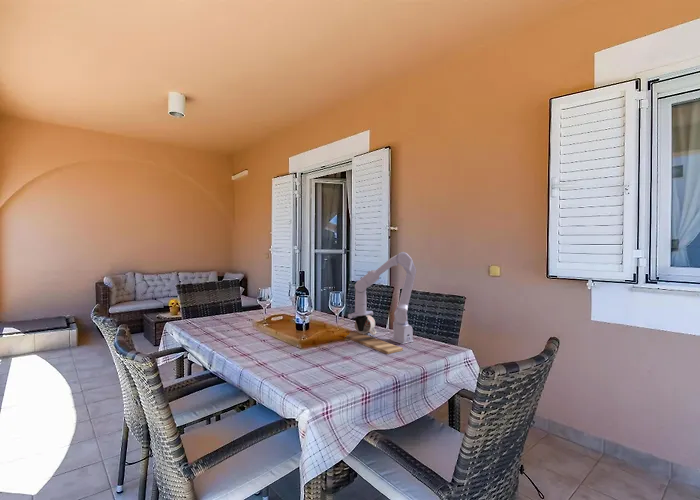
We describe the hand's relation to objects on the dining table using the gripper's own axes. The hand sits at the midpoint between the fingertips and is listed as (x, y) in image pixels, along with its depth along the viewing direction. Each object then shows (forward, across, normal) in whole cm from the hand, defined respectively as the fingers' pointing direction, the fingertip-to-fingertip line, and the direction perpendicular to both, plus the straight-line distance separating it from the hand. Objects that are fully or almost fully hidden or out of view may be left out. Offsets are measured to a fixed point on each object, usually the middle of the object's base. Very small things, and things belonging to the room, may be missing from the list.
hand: (360, 330), depth 184 cm
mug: (+1, -14, -10) cm, 17 cm away
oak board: (+4, 0, +16) cm, 16 cm away
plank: (+4, 0, -3) cm, 5 cm away
